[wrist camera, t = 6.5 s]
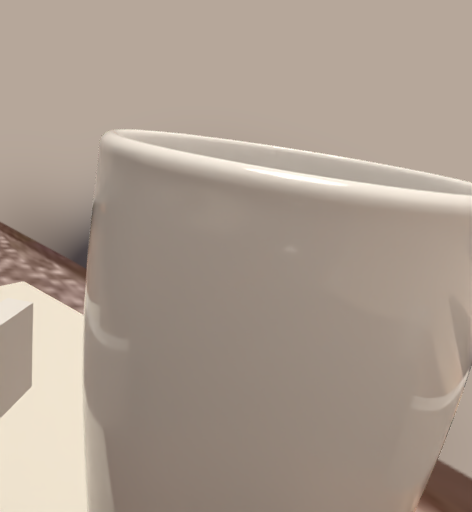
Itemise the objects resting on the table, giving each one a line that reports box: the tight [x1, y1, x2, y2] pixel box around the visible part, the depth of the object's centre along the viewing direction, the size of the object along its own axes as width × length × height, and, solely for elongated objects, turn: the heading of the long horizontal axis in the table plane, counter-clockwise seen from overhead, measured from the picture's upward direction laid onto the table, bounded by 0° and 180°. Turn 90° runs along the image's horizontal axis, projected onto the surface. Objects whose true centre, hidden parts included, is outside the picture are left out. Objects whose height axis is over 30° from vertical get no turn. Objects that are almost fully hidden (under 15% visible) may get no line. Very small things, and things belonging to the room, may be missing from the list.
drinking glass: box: [82, 129, 472, 512], centre depth 10 cm, size 7×7×15 cm
